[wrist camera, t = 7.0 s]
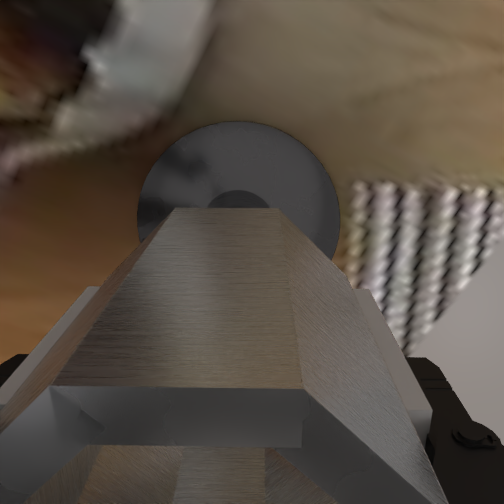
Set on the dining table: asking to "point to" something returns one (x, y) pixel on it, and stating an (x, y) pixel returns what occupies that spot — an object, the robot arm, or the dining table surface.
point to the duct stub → (242, 179)
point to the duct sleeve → (216, 382)
